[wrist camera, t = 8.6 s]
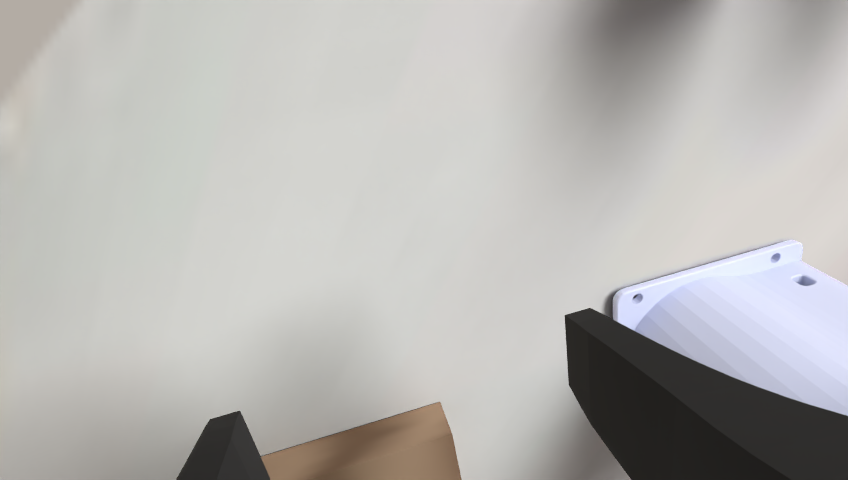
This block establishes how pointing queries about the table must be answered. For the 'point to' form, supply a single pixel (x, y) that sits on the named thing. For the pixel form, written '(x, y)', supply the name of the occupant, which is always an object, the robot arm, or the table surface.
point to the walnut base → (375, 451)
